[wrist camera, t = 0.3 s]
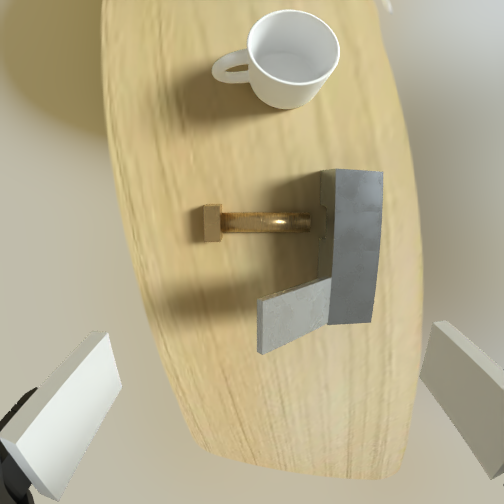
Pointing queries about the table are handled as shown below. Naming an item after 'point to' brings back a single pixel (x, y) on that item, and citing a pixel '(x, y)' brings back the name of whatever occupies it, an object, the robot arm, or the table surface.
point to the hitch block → (351, 242)
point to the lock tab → (292, 313)
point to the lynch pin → (250, 222)
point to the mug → (284, 58)
